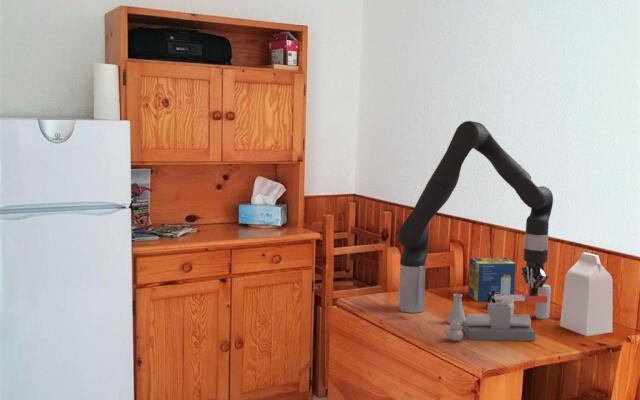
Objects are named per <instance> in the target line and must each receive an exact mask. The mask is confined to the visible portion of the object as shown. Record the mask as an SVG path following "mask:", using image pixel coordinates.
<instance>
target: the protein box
mask: <svg viewBox="0 0 640 400" xmlns="http://www.w3.org/2000/svg"><path fill="white" fill-rule="evenodd" d="M516 267H517V264H516V262H514V261H512V260H510V259H508V258H507V257H469V279H468V281H469V282H468V296H469V297H471V298H472V299H473V300H474V301H475V302H477V303H486V302H485V299H488V297H487V294H490V295H491V292H492V291H493V292H495V293H494V294H496V293H499V294H502V295H515V287H516V286H515V285H516ZM491 298H494V296H492V297H491ZM489 301H490V303H492V302H491V299H490V300H489Z"/></svg>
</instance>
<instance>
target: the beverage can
mask: <svg viewBox="0 0 640 400" xmlns="http://www.w3.org/2000/svg"><path fill="white" fill-rule="evenodd" d="M551 287H552V286H551V285H550V284H546V283H544V285H543V286H542V287H539V288H538V294H545V295H546V296H547V303H535V313H534V316H535V318H536V319H538V320H546V321H547V320H548V319H550V311H551V309H550V308H551V291H552V290H551V289H552V288H551Z"/></svg>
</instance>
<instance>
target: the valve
mask: <svg viewBox="0 0 640 400" xmlns="http://www.w3.org/2000/svg"><path fill="white" fill-rule="evenodd" d="M494 293H495V292H493V291H492V292H491V295H490V294H487V297H488V299H485V302H484V303H486V304H485V306H486V307H487V308H488V303H497V301H495V299H494V298H491V297H492V296H494ZM496 294H499V293H496ZM490 299H491V302H490V301H489V300H490ZM502 303H506V304H507V305H508V306H509V307H510V308H511V314H514V310H515V304H514V303H515V301H502Z"/></svg>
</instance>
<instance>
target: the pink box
mask: <svg viewBox="0 0 640 400" xmlns="http://www.w3.org/2000/svg"><path fill="white" fill-rule="evenodd" d="M494 299H495V301H514V302H516V301H517V302H524V303H525V304H526V303H527V304H528V303H531V304H536V303H547V296H546V295H545V294H529V293H526V292H524V293H522V294H514V295H502V294H494Z"/></svg>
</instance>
